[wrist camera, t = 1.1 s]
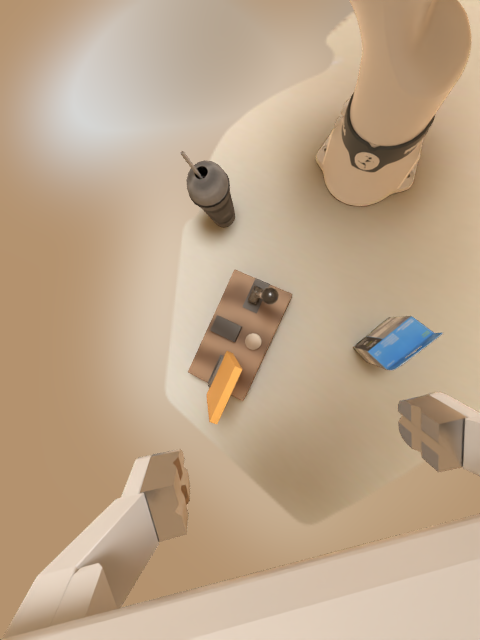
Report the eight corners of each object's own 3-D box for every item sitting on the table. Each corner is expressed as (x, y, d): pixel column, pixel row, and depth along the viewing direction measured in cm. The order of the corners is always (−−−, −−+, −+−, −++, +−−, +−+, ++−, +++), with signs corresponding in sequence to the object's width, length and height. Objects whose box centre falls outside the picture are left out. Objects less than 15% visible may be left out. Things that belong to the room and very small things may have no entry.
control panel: (238, 274, 54) (233, 267, 49) (291, 297, 51) (292, 293, 46) (195, 369, 54) (185, 372, 49) (245, 395, 52) (241, 402, 47)
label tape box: (389, 316, 48) (424, 311, 36) (405, 333, 48) (446, 333, 35) (352, 346, 49) (373, 351, 37) (367, 363, 48) (394, 373, 36)
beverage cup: (240, 233, 54) (213, 176, 34) (206, 233, 55) (163, 179, 36) (242, 199, 54) (217, 124, 35) (209, 200, 56) (167, 128, 36)
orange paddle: (224, 348, 48) (233, 365, 37) (233, 351, 49) (244, 370, 38) (204, 391, 49) (207, 421, 38) (213, 394, 49) (218, 425, 38)
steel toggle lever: (251, 284, 48) (269, 282, 37) (263, 290, 49) (284, 290, 37) (244, 299, 48) (260, 301, 37) (257, 304, 49) (276, 309, 37)
